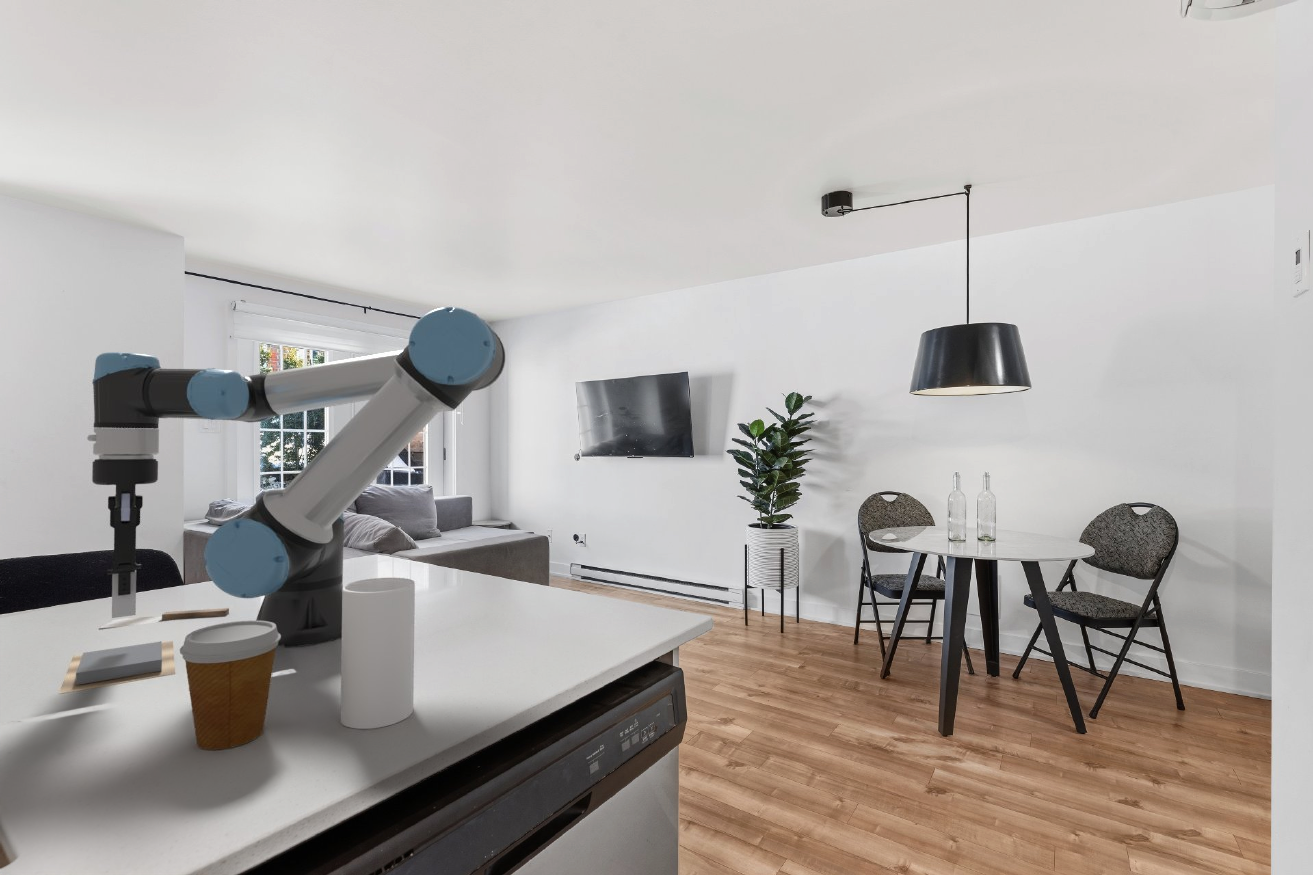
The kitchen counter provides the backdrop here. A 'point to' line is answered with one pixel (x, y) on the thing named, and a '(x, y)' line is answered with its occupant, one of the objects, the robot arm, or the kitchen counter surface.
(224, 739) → the disposable coffee cup
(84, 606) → the kitchen counter surface
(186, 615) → the turner
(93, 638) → the kitchen counter surface
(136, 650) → the tile
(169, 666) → the board
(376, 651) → the cup
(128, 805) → the kitchen counter surface
